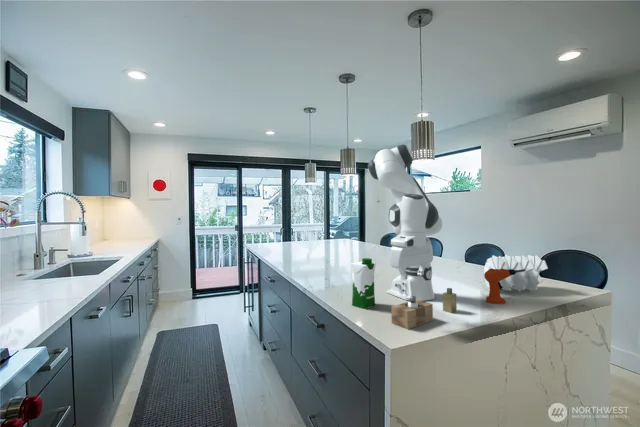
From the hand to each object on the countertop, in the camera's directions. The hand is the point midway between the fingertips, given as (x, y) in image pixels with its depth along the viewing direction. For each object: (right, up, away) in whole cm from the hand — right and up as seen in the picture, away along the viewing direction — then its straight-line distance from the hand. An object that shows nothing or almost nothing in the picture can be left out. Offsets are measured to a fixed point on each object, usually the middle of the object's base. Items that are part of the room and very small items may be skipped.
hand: (412, 277), depth 108 cm
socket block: (0, -16, 0) cm, 16 cm away
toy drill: (+47, -15, +21) cm, 54 cm away
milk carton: (-15, -16, +19) cm, 29 cm away
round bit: (0, -16, 0) cm, 16 cm away
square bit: (+18, -16, +10) cm, 26 cm away
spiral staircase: (+61, -15, +39) cm, 73 cm away
